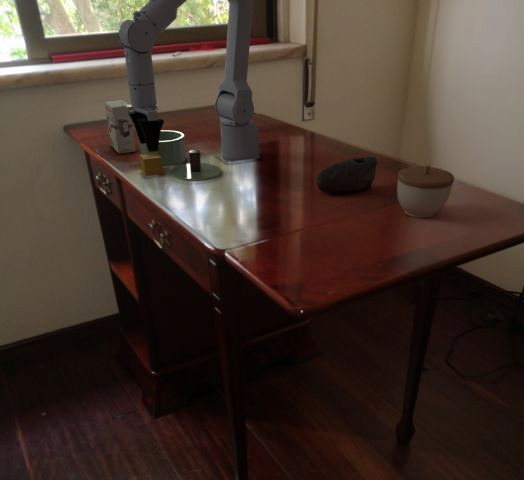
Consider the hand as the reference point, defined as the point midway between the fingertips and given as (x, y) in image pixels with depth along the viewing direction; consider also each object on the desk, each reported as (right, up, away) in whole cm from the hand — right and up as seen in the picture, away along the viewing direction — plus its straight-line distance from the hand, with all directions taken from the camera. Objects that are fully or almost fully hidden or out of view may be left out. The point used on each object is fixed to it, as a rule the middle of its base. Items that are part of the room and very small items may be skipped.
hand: (149, 147), depth 125 cm
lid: (+11, -5, +3) cm, 12 cm away
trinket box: (+59, -20, -16) cm, 64 cm away
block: (0, -5, +4) cm, 6 cm away
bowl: (+1, +1, +12) cm, 12 cm away
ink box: (-12, +8, +22) cm, 26 cm away
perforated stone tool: (+46, -12, -6) cm, 48 cm away
